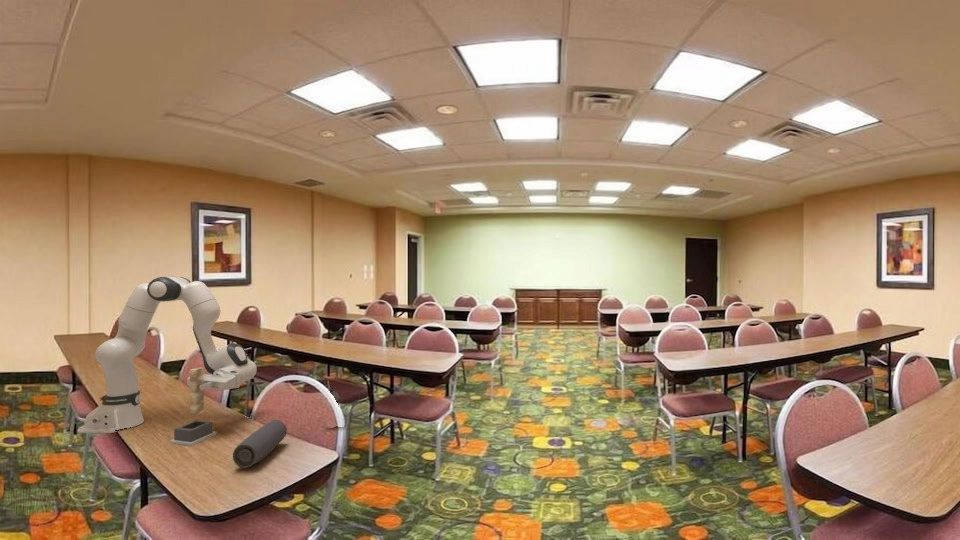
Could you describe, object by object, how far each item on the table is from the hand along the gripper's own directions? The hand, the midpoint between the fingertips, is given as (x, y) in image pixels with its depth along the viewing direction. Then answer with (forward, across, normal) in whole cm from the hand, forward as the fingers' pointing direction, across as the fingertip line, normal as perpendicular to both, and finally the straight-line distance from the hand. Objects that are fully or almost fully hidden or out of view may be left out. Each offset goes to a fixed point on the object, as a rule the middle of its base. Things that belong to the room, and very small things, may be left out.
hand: (194, 387), depth 178 cm
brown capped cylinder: (-26, +44, +21) cm, 56 cm away
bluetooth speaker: (+5, +37, +21) cm, 43 cm away
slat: (-1, 0, +11) cm, 11 cm away
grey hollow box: (-1, -2, +22) cm, 22 cm away
